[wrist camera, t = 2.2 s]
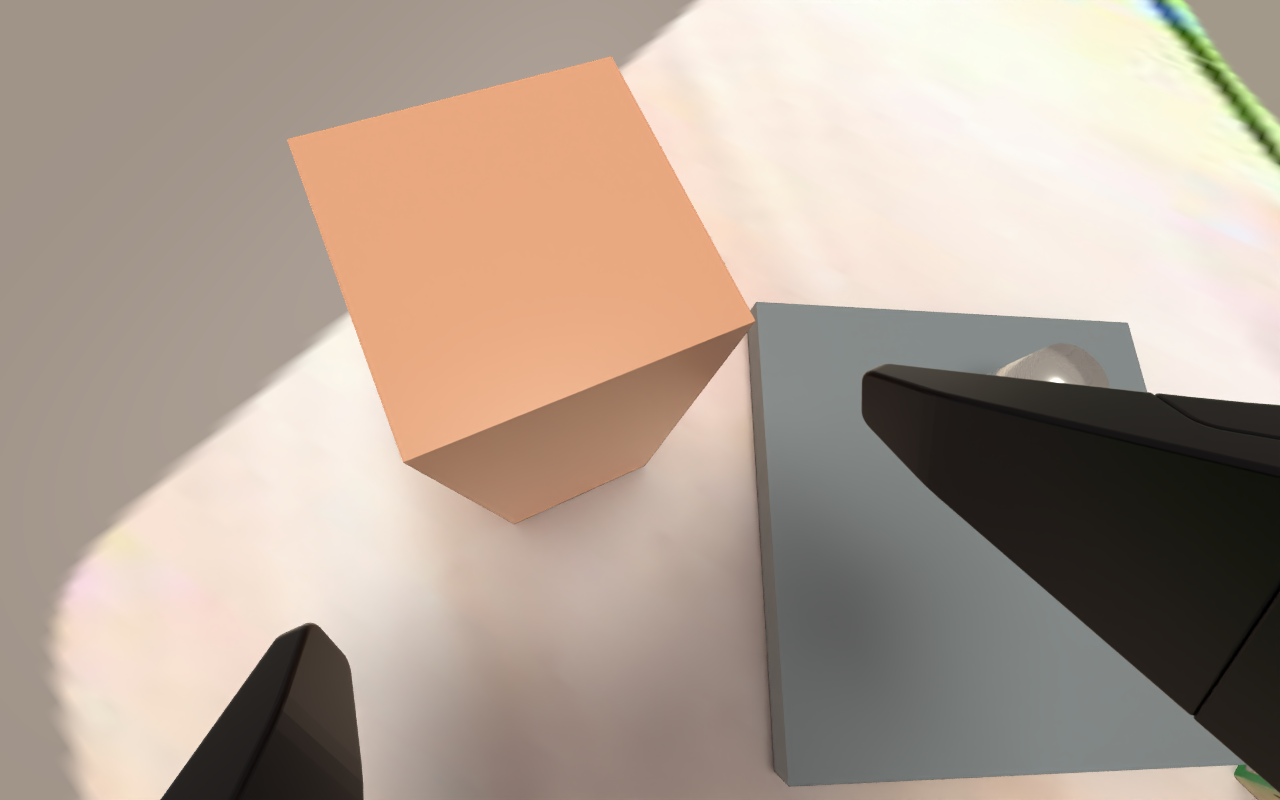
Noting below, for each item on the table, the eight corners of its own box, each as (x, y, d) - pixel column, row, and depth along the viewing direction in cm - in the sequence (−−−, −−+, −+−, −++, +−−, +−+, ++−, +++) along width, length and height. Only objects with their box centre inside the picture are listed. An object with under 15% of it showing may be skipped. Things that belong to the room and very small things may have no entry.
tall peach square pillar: (644, 465, 19) (755, 320, 8) (514, 524, 18) (402, 462, 6) (589, 347, 21) (611, 56, 9) (463, 395, 19) (286, 139, 8)
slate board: (1209, 751, 19) (1250, 764, 18) (774, 771, 17) (788, 786, 16) (1100, 334, 24) (1127, 322, 22) (746, 315, 22) (756, 302, 21)
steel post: (1004, 450, 21) (1118, 421, 17) (944, 448, 21) (1043, 419, 17) (992, 388, 22) (1099, 344, 18) (934, 385, 22) (1026, 341, 17)
